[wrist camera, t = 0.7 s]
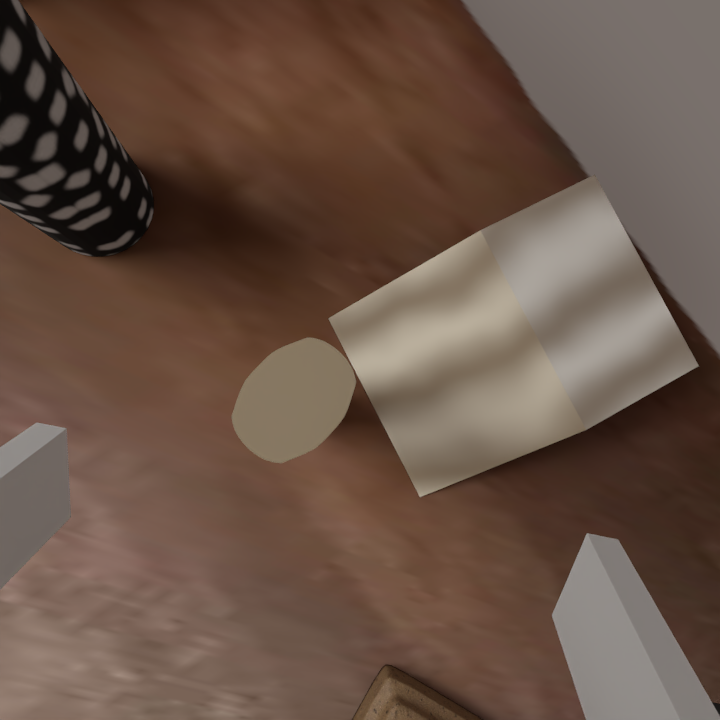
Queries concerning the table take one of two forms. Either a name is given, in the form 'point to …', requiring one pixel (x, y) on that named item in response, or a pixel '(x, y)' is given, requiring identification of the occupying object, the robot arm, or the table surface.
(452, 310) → the ramp bench
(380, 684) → the candle holder
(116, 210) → the white-spotted black cylinder
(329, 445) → the table surface
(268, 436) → the handle
